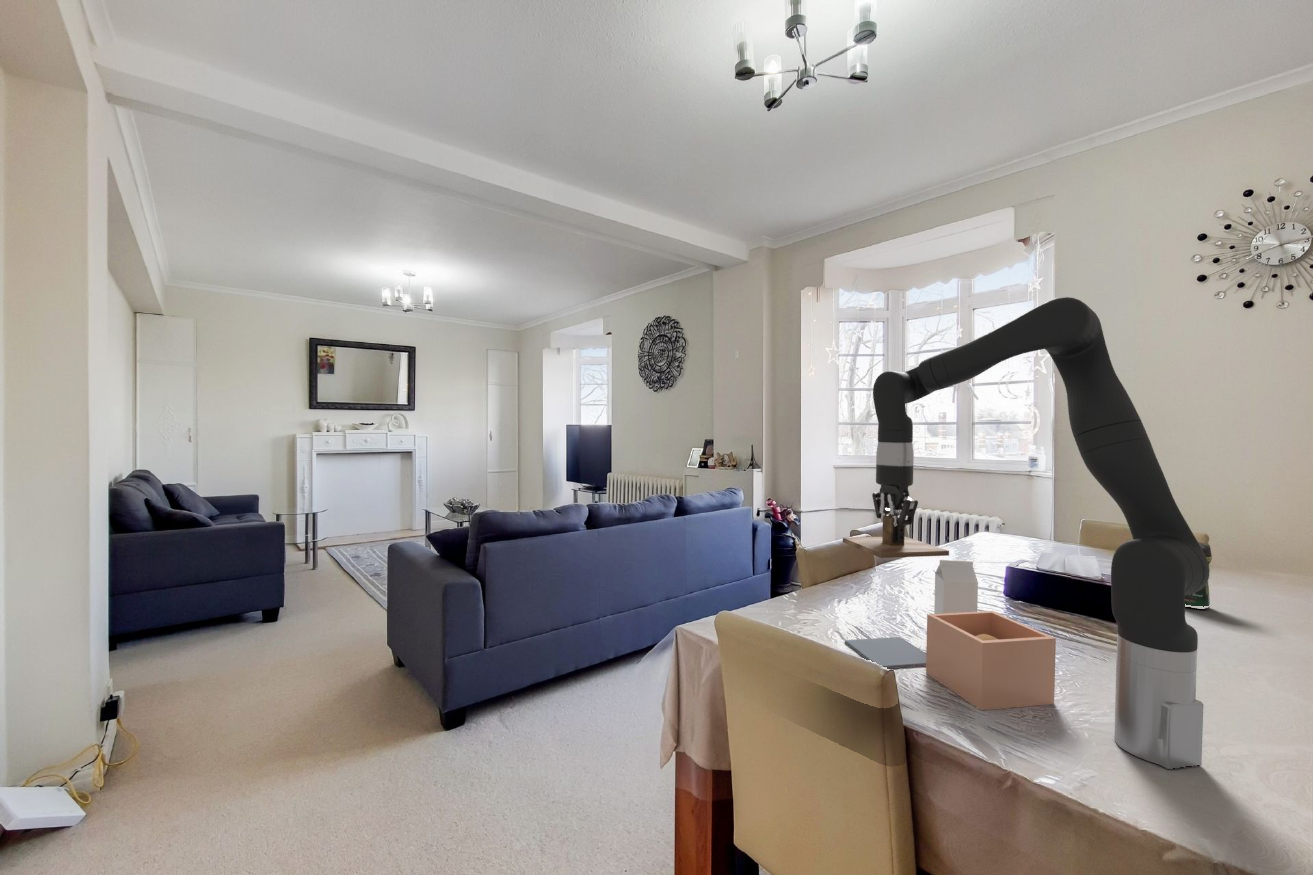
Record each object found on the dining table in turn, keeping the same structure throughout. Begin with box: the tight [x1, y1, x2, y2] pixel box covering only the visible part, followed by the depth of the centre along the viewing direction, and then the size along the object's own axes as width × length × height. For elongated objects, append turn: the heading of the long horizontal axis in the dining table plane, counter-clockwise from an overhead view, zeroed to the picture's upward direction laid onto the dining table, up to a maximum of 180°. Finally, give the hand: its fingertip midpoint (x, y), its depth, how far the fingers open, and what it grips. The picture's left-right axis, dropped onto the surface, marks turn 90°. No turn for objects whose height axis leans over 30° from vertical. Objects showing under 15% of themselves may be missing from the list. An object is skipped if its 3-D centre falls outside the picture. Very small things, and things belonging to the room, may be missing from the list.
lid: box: [842, 515, 950, 559], centre depth 122 cm, size 16×16×7 cm
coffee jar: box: [1185, 541, 1213, 607], centre depth 158 cm, size 10×8×19 cm
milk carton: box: [933, 559, 979, 614], centre depth 129 cm, size 7×7×19 cm
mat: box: [844, 636, 926, 669], centre depth 122 cm, size 14×14×1 cm
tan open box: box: [925, 610, 1057, 711], centre depth 107 cm, size 15×15×12 cm
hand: (893, 541), depth 122 cm, fingers closed on lid, 3 cm apart
